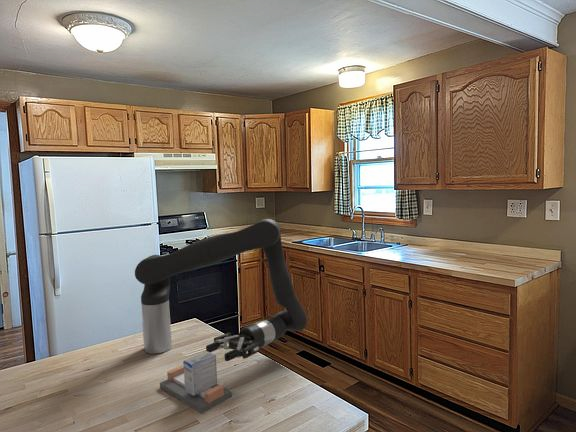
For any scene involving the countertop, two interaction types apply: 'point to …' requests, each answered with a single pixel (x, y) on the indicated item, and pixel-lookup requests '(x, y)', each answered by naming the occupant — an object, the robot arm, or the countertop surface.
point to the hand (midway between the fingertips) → (215, 353)
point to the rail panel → (197, 402)
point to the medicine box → (200, 372)
